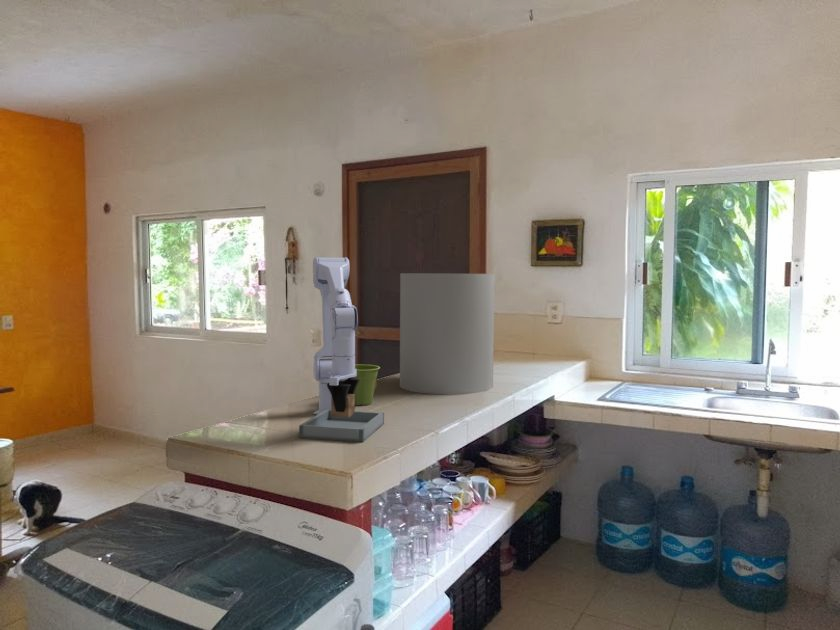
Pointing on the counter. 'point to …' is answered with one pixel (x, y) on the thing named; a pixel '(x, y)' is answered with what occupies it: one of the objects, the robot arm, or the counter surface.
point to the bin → (342, 426)
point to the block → (348, 409)
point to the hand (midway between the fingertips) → (343, 409)
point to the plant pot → (365, 383)
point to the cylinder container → (446, 332)
